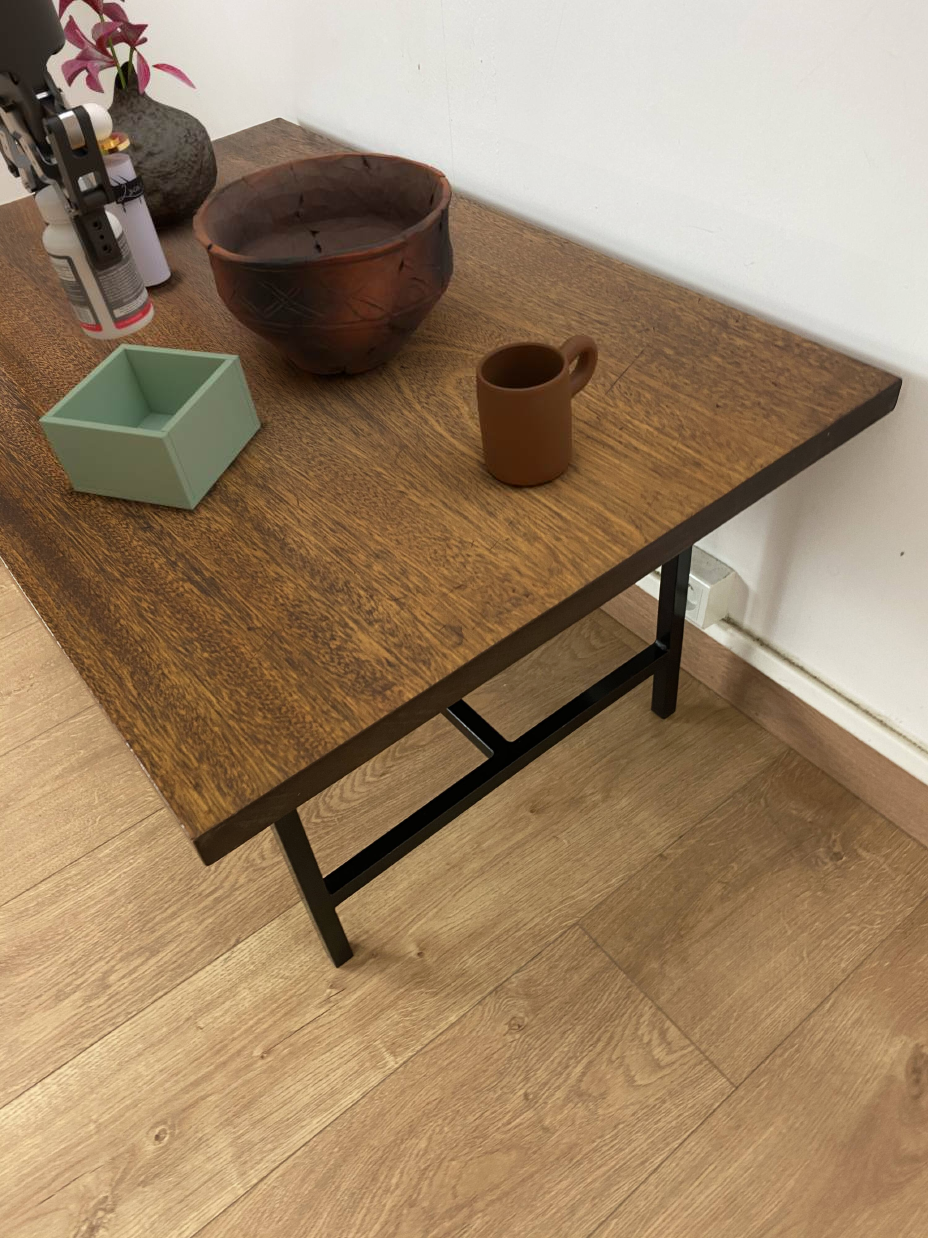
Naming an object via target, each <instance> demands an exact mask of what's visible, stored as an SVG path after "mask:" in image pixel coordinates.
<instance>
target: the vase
mask: <svg viewBox="0 0 928 1238" xmlns="http://www.w3.org/2000/svg"><path fill="white" fill-rule="evenodd" d="M75 1H77V0H58V17H59V19H60V21H61V20H62V18H63V15H64V14H65V12H66V10H67V8H68V7H69V6H70V5H71V4H72V3H74V2H75ZM81 1H82V2H83V3H85V4H86V5H88V7H90V8H91V9H92V10H93V11H94V12H95V13H96V14H97V15H98V17H99V20H100V21H99V22H96V23H94V25H93V27H92V28H91V39H92V40H93V41H94V42H92V41H91V40H90V39H89V38H88V37H87V36H86V35H85V34H84V32H82V30H81V29H80V28H79V25H78V24H77V22H76V21H75V19H74V16H73V15H71V14H69V15H68V21H67V22H66V24H65V26H64V27H63V30H64V33H65V37H66V41H67V42H68V43H69V44H71V45H72V46H73V47H76V48H77V49H80V51H79V53H77V55H76V56H75V58H72V59H69V60H65V62H64V63H63V64H61V68H60V69H61V73H62V76H63V77H64V81H65V82H66V83H67V86H68V87H69V88H71V86H72V85H73V83H74V81H75V80H76V78H77V77H78V76H79V75H80V74H81V73H82V72H84V71H85V72H86V73H87V75H86V77H85V85H86V86H87V87H88V88H89V90H91V91H93V92H96V93H99V94H105V90H104V88H103V86H102V83H101V81H100V78H99V73H100V72H102V71H105V70H107V69H111V68H116V69H117V72H116V75H115V77H114V83H113V94H112V102H111V104H110V106H109V107H108V108H107V109H106V110H107V111H108V113H109V114H110V116H111V119H112V123H113V128H112V132H120V133H125V134H127V135H128V137H129V140H130V144H129V146H127V147H126V148H125V149H123V150H121V151H119V152H117V153H123V154H127V155H129V157H130V160H131V162H132V165H133V168H134V171H135V174H136V177H137V176H138V175H139V174H140V173H141V176H142V179H143V182H144V184H145V187H146V194H147V195H146V194H145V193H144V194H143V196H144V199H145V202H146V205H147V208H148V211H149V213H150V216H151V219H152V222H153V225H154V228H155V230H164V229H165V230H166V229H170V228H174V227H175V228H176V227H178V226H180V225H183V224H185V223H187V222H188V221H190V220H191V219H192V218H193V217H194V211H195V210H197V209H199V208H200V207H201V205H202V204H203V203H204V202H205V201H206V200H207V199H208V198H209V196H210V194H211V193H212V192H213V190H214V189H215V187H216V186H217V185H216V184H217V178H218V172H219V171H218V166H217V159H216V155H215V150H214V147H213V143H212V140H211V136H210V135H209V133H208V130H207V128H206V126H204V124H203V123H202V122H201V121H200V120H199V119H198V118H196V117H195V116H193V115H192V114H190V113H188V112H187V111H184V110H181V109H178V108H176V107H173V106H170V105H167V104H165V103H161V102H160V101H157V100H154V99H153V98H152V97H150V96H149V95H148V93H147V92H146V88H147V87H148V85H149V83H150V80H151V70H150V69H151V68H150V65H149V64H148V62H147V60H146V59H145V57H144V56H143V55H142V54H141V52H140V51H139V50H138V49H137V47H139V46H141V45H143V44H146V43H147V42H148V37H147V36H142V35H143V33H144V32H145V30H146V29H147V28H148V27H149V24H148V23H137V24H136V23H132V22H130V20H129V17H128V16H127V14H126V11H125V10H124V9H123V7H122V6H121V5H120V4H119V3H117V2H114V1H113V2H104V1H105V0H81ZM120 2H122V3H125V2H126V0H120ZM104 16H106V17H107V18H108V19H109V20H110V21H106V20H105V18H104ZM118 29H119V30H120V31H119V30H118ZM123 43H124V44H126V45H127V46H128V47H129V55H128V60H127V61H125V62H123V63H122V64H121V65H120V62H119V59H118V56H117V54H116V50H115V46H117V45H119V44H123ZM108 49H110V51H109V50H108ZM134 52H136V68H135V66H134V64H133V59H134ZM151 67H152V68H154V69H157V70H160V71H162V72H165V73H166V74H168V75H171V76H172V77H174V78H176V79H177V80H179V81H181V82H182V83H183V84H185V85H186V86H188V87H189V88H192V89H194V90H197V87H196V86H195V84H194V83H193V82H192V80H190V79H189V77H188V76H187V75H186V74H185V73H184V72H183V71H182V70H181V69H179V68H177V67H176V66H174V65H171V64H169V63H163V62H162V63H161V62H160V63H155V64H152V65H151ZM117 153H114V154H117ZM140 187H141V188H142V185H141V186H140ZM143 189H144V187H143ZM142 192H143V191H142ZM147 197H148V198H147ZM103 207H104V206H103ZM104 209H105V208H104Z"/></svg>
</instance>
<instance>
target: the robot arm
mask: <svg viewBox="0 0 928 1238" xmlns="http://www.w3.org/2000/svg"><path fill="white" fill-rule="evenodd" d="M66 41H67V40H66V37H65V33H64V27H63V26H62V22H61V20H60V19H59V13H58V11H57V9H56V7H55V4H54V1H53V0H0V154H1V156H2V158H3V160H4V161H5V163H6V165H7V170H8V171H9V173H10V174H12V176H13V177H14V178H15V179H17V178H20V180H21V184H22V186H23V188H24V189H25V190H26V191H27V192H28V193H29V194H32V196H33V199H34V200H35V196H36V195H37V193H38V192H40V191H41V190H42V189H44V188H45V187H47V186H50V185H52V186H53V188H54V189H55V191H56V193H57V195H58V197H59V199H60V200H61V202H62V204H63V206H64V209H65V211H66V213H67V214H68V215H69V218H70V220H71V223H72V225H73V227H74V230H75V232H76V234H77V237H78V239H79V241H80V244H81V246H82V248H83V251H84V253H85V255H86V258H87V260H88V262H89V264H90V266H91V267H93V268H94V269H96V270H98V271H102V270H105V269H107V268H109V267H111V266H114V265H116V264H118V263H120V262H121V261H122V258H123V255H122V252H121V250H120V247H119V245H118V242H117V240H116V237H115V234H114V232H113V229H112V227H111V224H110V222H109V219H108V217H107V214H106V212H105V209H104V207H103V206H105V205H107V204H108V205H109V204H111V203H113V202H115V196H114V192H113V190H112V186H111V183H110V180H109V177H108V174H107V170H106V167H105V164H104V161H103V157H102V154H101V151H100V148H99V145H98V141H97V138H96V135H95V132H94V129H93V125H92V122H91V118H90V115H89V113H88V112H87V111H86V109H85V108H84V107H83V106H82V105H83V104H80V105H77V106H74V107H72V105H71V103H70V102H69V100H68V98H67V96H66V94H65V92H64V91H63V89H62V88H61V87H59V86H57V84H56V82H55V80H54V79H53V77H52V74H51V73H50V72H49V70H48V66H47V64H48V62H49V60H50V59H51V57H52V56H56V55H58V54H59V53H60V52H61V51H62V50H63V49H64V47H65V45H66ZM79 179H82V180H83V182H84V183H85V185H86V187H87V189H86V190H83V191H81V189H80V186H79V183H78V180H79ZM44 223H45V225H46V227H47V226H48V225H49V223H47V222H45V221H44Z"/></svg>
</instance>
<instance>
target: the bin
mask: <svg viewBox="0 0 928 1238" xmlns="http://www.w3.org/2000/svg"><path fill="white" fill-rule="evenodd" d="M251 394H252V393H251V392H250V389H249V385H248V381H247V379H246V375H245V372H244V369H243V366H242V364H241V360H240V357H239V355H238V354H228V353H219V352H209V351H200V350H199V351H198V350H188V349H178V348H169V347H168V348H167V347H157V346H149V345H139V344H131V343H121V344H120V345H119V346H118V347H117V348H116V349H115V350H113V351H112V352H111V353H110V354H109V355H108V356H107V357H106V358H105V359H103V360H102V361H101V363H99V364H98V365H97V366H96V367H95V368H94V369H93V370H92V371H91V372H90V373H88V374H87V375H86V376H85V377H84V378H83V379H81V381H80V382H79V383H78V384H77V385H75V386H74V387H73V388H72V389H71V390H69V392H68V393H67V394H65V396H63V397H62V398H61V399H60V400H59V401H57V403H55V405H54V406H52V407H51V408H50V409H49V410H48V411H47V412H46V413H45V414H44V415H43V416H41V418H39V419H38V423H39V425H40V427H41V429H42V431H43V433H44V434H45V436H46V438H47V440H48V442H49V444H50V446H51V447H52V449H53V451H54V453H55V456H56V457H57V459H58V461H59V462H60V464H61V466H62V469H63V470H64V472H65V474H66V477H67V478H68V480H69V482H70V484H71V485H72V488H73V490H74V491H75V492H81V493H85V494H92V495H99V496H105V497H110V498H117V499H122V500H128V501H136V502H141V503H147V504H153V505H160V506H167V507H172V508H178V509H185V510H189V511H193V510H194V509H195V508H196V507H197V505H198V504H199V503H200V502H201V500H202V499H203V498H204V497H205V496H206V494H207V493H208V492H209V491H210V489H212V487H213V486H214V484H215V483H216V482H218V479H219V478H220V477H221V476H222V475H223V473H224V472H226V470H227V469H228V467H229V466H230V465H231V464H232V462H233V461H234V460H235V459H236V458H237V456H238V455H239V454H240V453H241V451H242V450H243V449H244V448H245V446H246V445H247V444H248V443H249V442H250V440H251V439H252V438H253V437H254V435H255V434H256V433H257V432H258V431H259V429H260V428H261V422H260V419H259V416H258V413H257V410H256V408H255V404H254V401H253V397H252V395H251Z"/></svg>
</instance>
